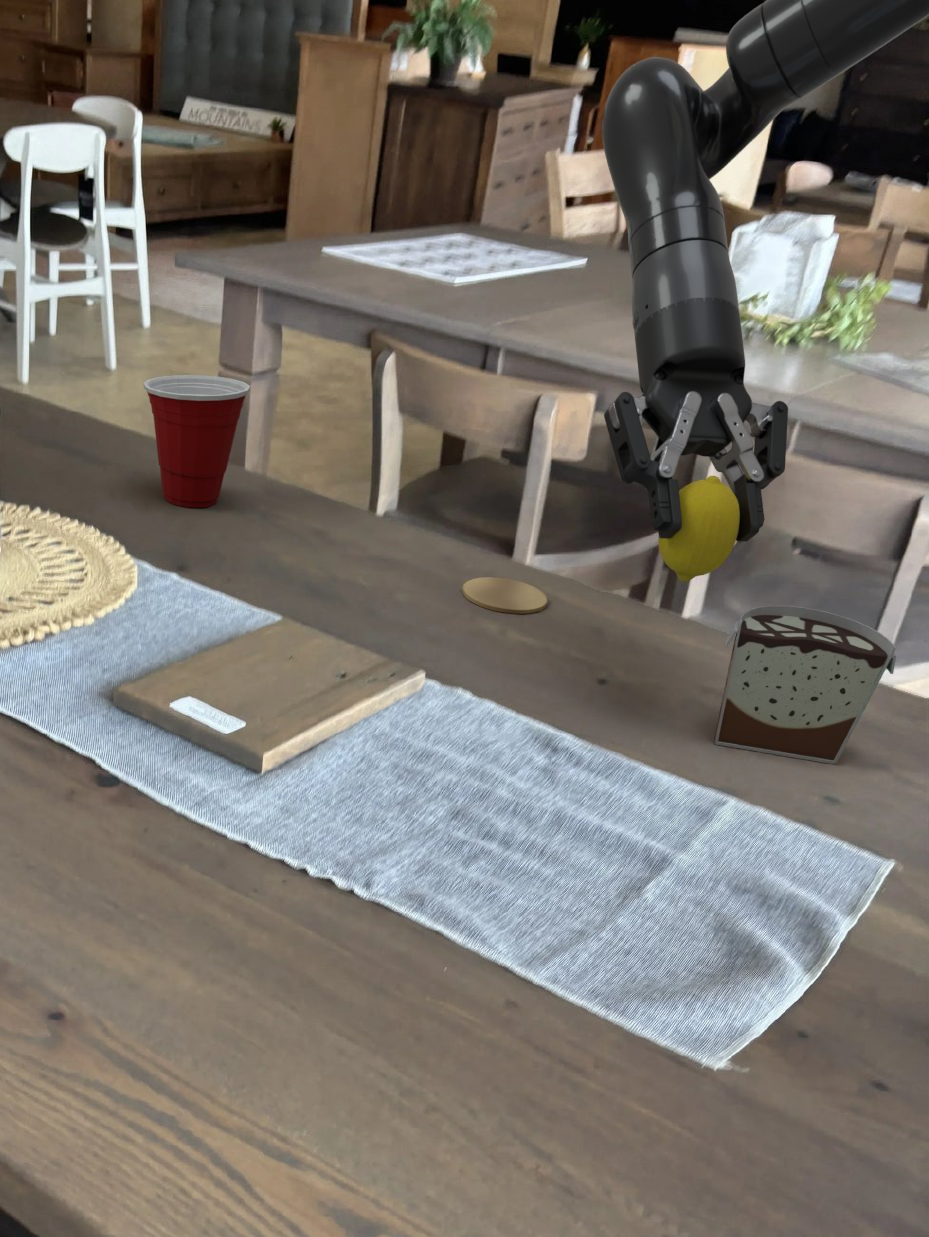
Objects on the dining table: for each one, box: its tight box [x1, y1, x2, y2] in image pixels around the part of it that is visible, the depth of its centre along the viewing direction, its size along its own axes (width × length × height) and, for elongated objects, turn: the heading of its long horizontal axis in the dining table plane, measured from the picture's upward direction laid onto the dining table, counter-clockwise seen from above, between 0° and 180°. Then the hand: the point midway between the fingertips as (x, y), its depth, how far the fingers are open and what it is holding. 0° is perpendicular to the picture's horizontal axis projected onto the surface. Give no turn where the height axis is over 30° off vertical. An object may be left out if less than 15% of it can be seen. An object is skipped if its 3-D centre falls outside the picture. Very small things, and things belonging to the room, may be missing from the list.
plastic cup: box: [142, 374, 251, 509], centre depth 139 cm, size 11×11×12 cm
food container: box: [713, 604, 897, 765], centre depth 104 cm, size 12×6×10 cm, turn 79°
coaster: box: [461, 576, 548, 615], centre depth 127 cm, size 8×8×1 cm
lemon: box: [657, 475, 740, 583], centre depth 99 cm, size 6×6×8 cm
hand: (709, 534), depth 98 cm, fingers closed on lemon, 5 cm apart
